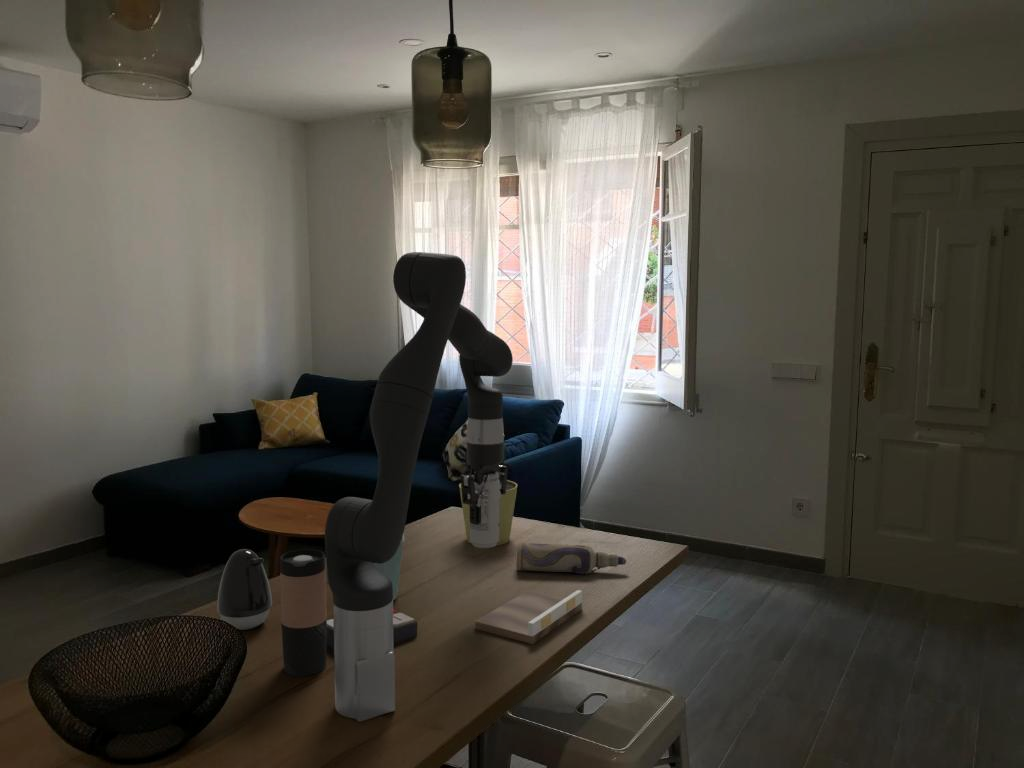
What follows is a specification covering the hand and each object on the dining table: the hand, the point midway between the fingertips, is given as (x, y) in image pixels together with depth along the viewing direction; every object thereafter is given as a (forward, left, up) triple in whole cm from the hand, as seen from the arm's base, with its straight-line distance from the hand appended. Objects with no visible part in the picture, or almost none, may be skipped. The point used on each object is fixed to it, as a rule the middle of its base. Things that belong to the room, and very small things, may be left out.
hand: (484, 519), depth 168 cm
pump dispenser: (+19, +44, -19) cm, 51 cm away
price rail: (-16, -7, -17) cm, 24 cm away
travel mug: (-5, +41, -19) cm, 45 cm away
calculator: (0, +26, -19) cm, 33 cm away
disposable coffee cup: (+17, +16, -19) cm, 30 cm away
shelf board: (-10, -4, -19) cm, 22 cm away
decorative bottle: (+7, -28, -19) cm, 34 cm away
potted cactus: (+39, -26, -19) cm, 51 cm away
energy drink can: (0, 0, -5) cm, 5 cm away
